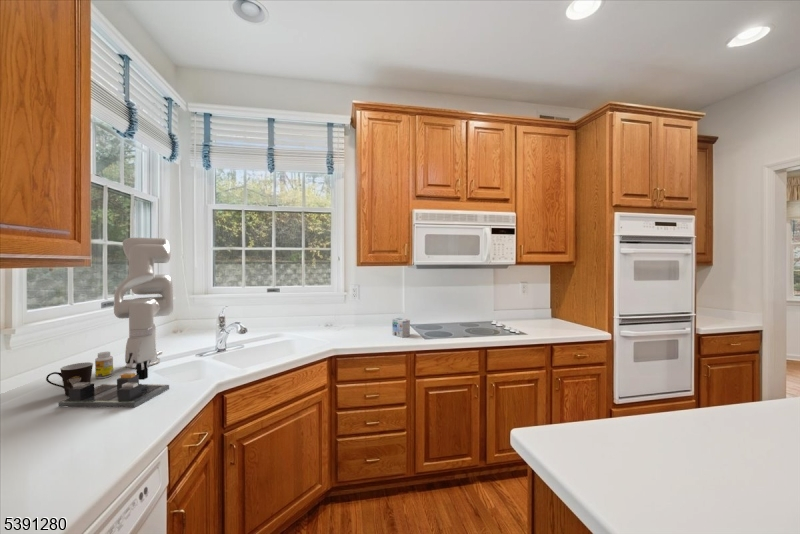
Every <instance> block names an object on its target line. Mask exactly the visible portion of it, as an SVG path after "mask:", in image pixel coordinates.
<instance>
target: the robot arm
mask: <svg viewBox="0 0 800 534" xmlns="http://www.w3.org/2000/svg"><path fill="white" fill-rule="evenodd" d="M122 249H123V252H124V255H125V256H126V258H127V260H128V277H126V278H125V279H124V280H122V281H121V283H120V284H119V285H118V286H117V288H116V290H115V292H114V296H113V297H114V298H113V314H114V316H115V317H116V318H117V319H122V320H123V319H128V330H129V331H128V338H127V340H126V345H125V351H124V352H125V355H124V360H125V361H124V362H125V364H126V367H127V368H128V369H129V368H131V369H134V370H136V372H135V373H136V375H139V381H140V380H146V379H148V377H149V374H148V373H149V372H148V371H149V369H148V368H149V367H150V366H154V365H156V364H159V363H160V362H161V359H160V358H159V357H158V356H160V355H162V354H163V351H162V350H158V351H157V348H156V347H157V343H156V342H157V341H156V340H157V339H156V338H157V337H156V336H157V334H156V333H157V331H156V330H157V329H156V325H155V323H154V318H156V317H157V318H158V317H165V316H166V317H167V316H170V315H172V313H173V311H174V286H173V285H174V284H173V280H172V277H171V276H170V275H168V274H155V267H154V266H155V264H167V263H169V261H170V260H171V245H170V242H169V241H168V239H166V238H162V237H161V238H157V237H128V238H124V240H123V241H122ZM130 290H131V292H132V293H133V294H135V295H139V296H141V295H142V296H145V295H147V297H137V298H132V299H131V298H130V299H124V296H125V294H126V293H127V292H128V291H130ZM149 295H161V296H149ZM148 296H149V297H148Z"/></svg>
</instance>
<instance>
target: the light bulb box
mask: <svg viewBox="0 0 800 534" xmlns="http://www.w3.org/2000/svg"><path fill="white" fill-rule="evenodd" d="M391 329H392V333H391V334H392V336H396V337H400V338H402V339H403V338H407V337H410V336H411V319H408V318H407V319H406V318H402V317H397V318H392V328H391Z"/></svg>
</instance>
